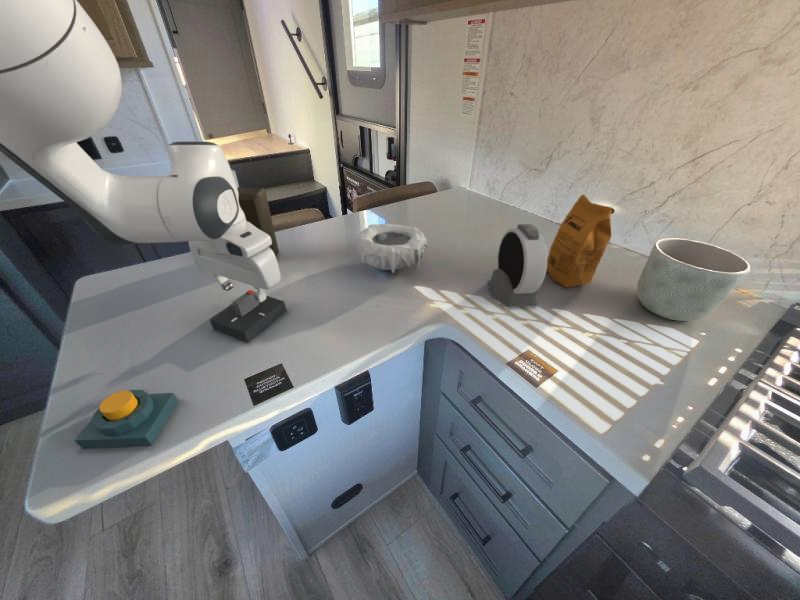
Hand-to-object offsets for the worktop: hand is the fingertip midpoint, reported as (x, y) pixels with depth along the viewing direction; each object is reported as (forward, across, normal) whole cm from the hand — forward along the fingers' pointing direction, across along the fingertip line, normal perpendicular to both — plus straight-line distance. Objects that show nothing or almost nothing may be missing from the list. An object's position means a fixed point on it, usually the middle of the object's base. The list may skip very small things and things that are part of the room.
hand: (244, 294), depth 68 cm
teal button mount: (+7, +2, -28) cm, 29 cm away
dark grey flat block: (+7, 0, 0) cm, 7 cm away
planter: (+7, +88, +46) cm, 100 cm away
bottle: (+8, -23, +22) cm, 33 cm away
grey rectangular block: (+4, 0, 0) cm, 4 cm away
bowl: (+8, +17, +37) cm, 42 cm away
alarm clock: (+7, +52, +37) cm, 65 cm away
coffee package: (+8, +65, +52) cm, 84 cm away
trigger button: (+3, +3, -28) cm, 28 cm away
